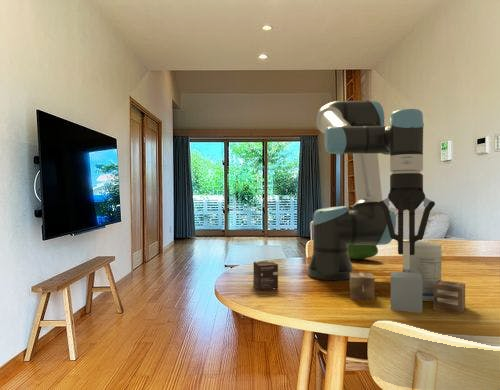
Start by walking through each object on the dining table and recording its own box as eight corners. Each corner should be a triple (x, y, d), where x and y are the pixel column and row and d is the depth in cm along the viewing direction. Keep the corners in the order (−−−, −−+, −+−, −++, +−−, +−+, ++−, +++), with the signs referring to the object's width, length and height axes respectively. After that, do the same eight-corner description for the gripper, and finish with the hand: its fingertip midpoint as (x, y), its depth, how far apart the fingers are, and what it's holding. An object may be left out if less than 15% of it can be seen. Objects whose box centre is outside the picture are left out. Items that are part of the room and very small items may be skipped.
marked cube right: (433, 309, 90) (433, 284, 90) (438, 303, 95) (438, 279, 95) (461, 314, 86) (461, 288, 86) (465, 307, 91) (465, 282, 91)
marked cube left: (351, 302, 95) (351, 278, 95) (349, 293, 104) (349, 271, 104) (375, 303, 94) (375, 279, 94) (371, 294, 102) (371, 272, 102)
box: (258, 290, 106) (258, 265, 106) (253, 285, 112) (253, 261, 112) (278, 289, 108) (278, 264, 108) (271, 284, 114) (271, 260, 114)
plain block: (390, 309, 89) (390, 277, 89) (391, 301, 96) (391, 271, 96) (422, 313, 87) (422, 279, 87) (420, 304, 93) (420, 273, 93)
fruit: (382, 260, 152) (382, 236, 152) (371, 263, 145) (371, 238, 144) (348, 255, 162) (348, 233, 162) (337, 259, 155) (337, 235, 155)
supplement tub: (396, 292, 104) (396, 240, 104) (427, 291, 105) (427, 240, 105) (414, 302, 95) (414, 246, 94) (449, 301, 96) (449, 245, 95)
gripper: (377, 172, 90) (377, 268, 90) (437, 171, 85) (437, 273, 85) (379, 174, 97) (379, 263, 97) (434, 173, 92) (433, 266, 92)
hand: (406, 267), depth 91 cm, fingers closed
